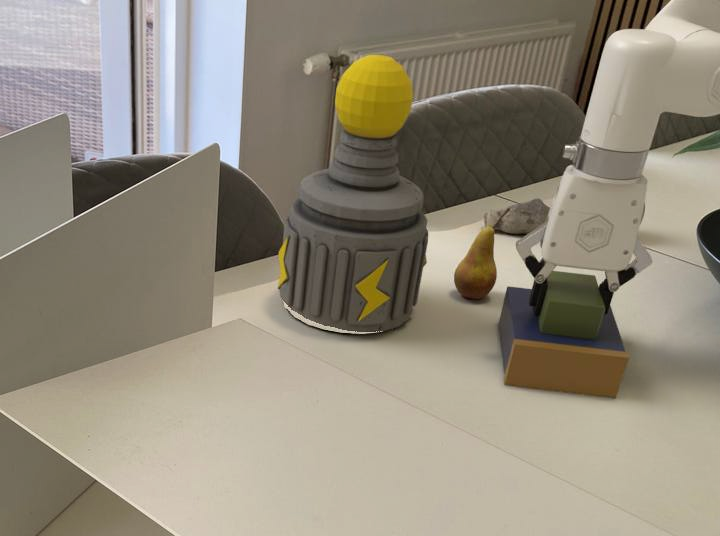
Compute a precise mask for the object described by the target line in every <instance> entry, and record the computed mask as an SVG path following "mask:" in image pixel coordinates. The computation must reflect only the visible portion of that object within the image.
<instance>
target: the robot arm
mask: <svg viewBox="0 0 720 536" xmlns="http://www.w3.org/2000/svg"><path fill="white" fill-rule="evenodd" d="M597 68H598V69H597V73H596V77H595V80H594V85H593V88H592V92H591V96H590V98H589V99H590V100H589V103H588V107H587V111H586V115H585V118H584V122H583V126H582V130H581V134H580V136H578V139H577V141H575V143H571V144H567V143H566V144H564V146H563V150H562V155H561V157H562V158H564V159H568V161H569V160H570V161H571V162H572V164H570V165H567V167H566V168H565V170H564V172H563V174H562V176H561V179H560V181H559V183H558V186H557V188H556V191H555V193H554V196H553V199H552V201H551V204H550V206H549V207H550V210H549V213H548V216H547V219H546V222H545V223H544V224H542V225H541V226H539V227H538V228H536V229H535V230H533V231H532V232H530V233H529V234H526V235H524V236H523V237H521V238H519V239H518V240H517V241H516V242H515V250H516V252H517V253H518V255H519V257H520V258H521V260H522V261H523V263H524V264H525V267H526V268H527V270H528V271H529V273H530V274H531V276H532V278H534V279H533V283H532V287H531V289H532V291H531V295H530V299H529V306H532V308H533V314H534V316H539V315H540V313H541V309H542V306H543V302H544V298H545V295H546V291H547V288H548V283H547V277H548V276H549V275H550V274H551V272H552V271H555V269H556V268H557V267H563V268H571V269H581V270H590V271H599V272H604V276H605V279H603V281H601V283H599V284H598V286H599V290H600V293H601V296H602V299H603V303H604V306H605V311H604V314H605V315H606V314H607V313H608V310H609V307H610V306H611V303H612V300H613V297H614V294H615V292H617V291H619V289H620V287H622V286H624V285H625V284H626V283H628V282H630V281H631V280H633V279H634V278H635V277H636V275H637V274H640V273H641V272H643V271H644V270H645V269H647V268H648V267H650V266H651V265H652V263H653V259H652V256H651V254H650V252H649V251H648V250H647V249H646V247H645V246H644V244H643V243H642V241H641V240H640V238H639V237H638V235H639V230H640V227H641V224H642V222H641V218H642V214H643V209H644V204H645V205H646V196H647V191H648V179H647V178H646V177H645V176H644V175H643V172H644V168H645V166H646V162H647V159H648V156H649V153H650V149H651V146H652V142H653V139H654V136H655V133H656V130H657V126H658V123H659V120H660V117H661V114H663V113H673V114H679V115H685V116H690V117H694V118H695V117H696V118H697V117H698V118H707V117H714V116H717V115H720V0H670V1H669V2H668V3H666V4H665V6H663V7H662V9H661V10H660V11H658V13H657V14H656V15H655V16H654V17H653V18H652V19H651V20H650V22H649V23H648V24H647V26H646V27H645V28H644V29H643V28H642V29H641V28H624V29H619V30H617V31H615V32H613V33H612V34H610V36H609V37H608V38H607V40H606V41H605V44H604V47H603V50H602V53H601V57H600V60H599V66H598V67H597ZM640 223H641V224H640ZM537 244H539V245H540V249H541V256H542V258H541V259H540V260H538V258H537V257H536V256H535V254H534V253H533V252H532V248H533V247H534V246H537ZM633 255H634V256H635V258H634V259H633V260H632V257H633ZM631 260H632V261H631Z"/></svg>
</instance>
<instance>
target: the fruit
mask: <svg viewBox="0 0 720 536" xmlns="http://www.w3.org/2000/svg"><path fill="white" fill-rule="evenodd" d="M509 210H510V208H507V210H506V211H505V212H504V213H503V214H502V215H501V216H500V218H499V219H498V221H496V222H495V223H494V224H493V225H492V226H491V227H490V226H487V227H486V228H485V227H484V228H483V229H482V230H481V231H479V232H478V234H477V236H475V238H474V240H473V242H472V244H471V245H470V247H469V249H468V251H467V253H466V254H465V256H464V258H463V259H461V261H460V262H459V263H458V265H457V267H456V268H455V270H454V273H453V282H454V286H455V289H456V290H457V292H458V293H459V294H460V295H461V296H462V297H465V298H467V299H471V300H478V299H479V300H480V299H483V298H485V297H486V296H487V295H489V294H490V292H491V291H492V290H493V289H494V287H495V285H496V282H497V279H498V278H497V277H498V271H497V264H496V261H495V255H494V254H495V252H494V251H495V250H494V249H495V232H496V231H495V229H493V228H494V226H495V225H496V224H497V223H498V222H499V221H500V220H501V218H502V217H503V216H504V215H505V214H507V212H508V211H509Z"/></svg>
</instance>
